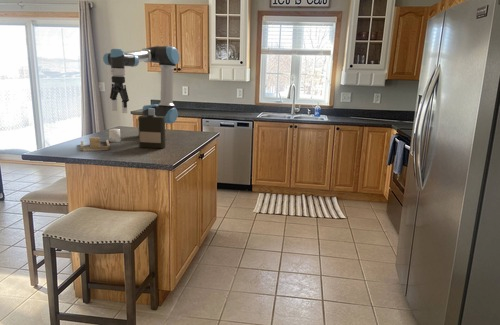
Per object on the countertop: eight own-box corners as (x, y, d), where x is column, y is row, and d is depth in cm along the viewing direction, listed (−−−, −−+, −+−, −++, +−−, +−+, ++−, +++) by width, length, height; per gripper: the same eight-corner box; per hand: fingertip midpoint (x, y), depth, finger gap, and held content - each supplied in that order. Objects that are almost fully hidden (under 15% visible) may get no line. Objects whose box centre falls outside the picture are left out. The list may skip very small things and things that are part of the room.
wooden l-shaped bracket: (81, 144, 231) (80, 141, 230) (108, 143, 238) (108, 140, 237) (80, 151, 213) (80, 147, 213) (110, 149, 220) (110, 146, 219)
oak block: (89, 144, 231) (89, 137, 230) (100, 144, 234) (99, 136, 232) (90, 146, 226) (89, 139, 225) (100, 146, 228) (99, 138, 227)
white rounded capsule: (109, 140, 247) (108, 128, 245) (120, 139, 250) (119, 128, 248) (110, 142, 241) (109, 130, 239) (121, 141, 244) (120, 130, 242)
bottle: (142, 145, 236) (141, 107, 229) (166, 146, 235) (165, 108, 229) (138, 148, 228) (136, 108, 222) (163, 149, 228) (162, 109, 221)
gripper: (103, 75, 219) (104, 109, 224) (121, 76, 202) (123, 114, 207) (115, 75, 224) (116, 109, 229) (134, 77, 207) (135, 113, 212)
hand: (119, 111), depth 218 cm, fingers open, 13 cm apart
